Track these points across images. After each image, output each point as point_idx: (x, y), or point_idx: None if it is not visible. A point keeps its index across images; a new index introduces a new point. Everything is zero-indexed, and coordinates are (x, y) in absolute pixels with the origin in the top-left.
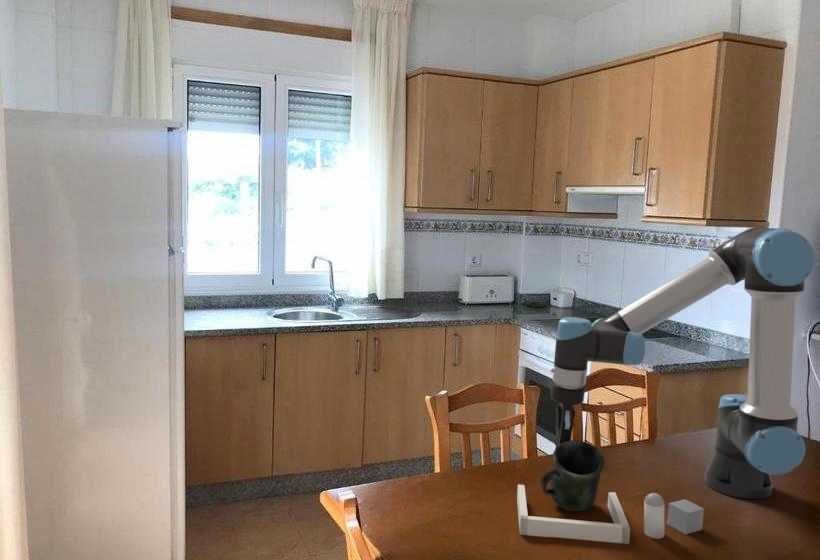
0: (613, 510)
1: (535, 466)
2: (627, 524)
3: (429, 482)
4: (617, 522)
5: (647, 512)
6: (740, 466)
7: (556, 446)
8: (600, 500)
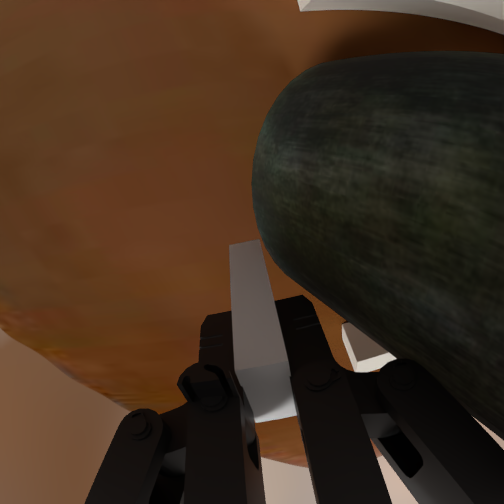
0: (447, 9)
1: (59, 330)
2: None
3: (299, 450)
4: (501, 26)
5: None
6: None
7: (260, 462)
8: (240, 40)
